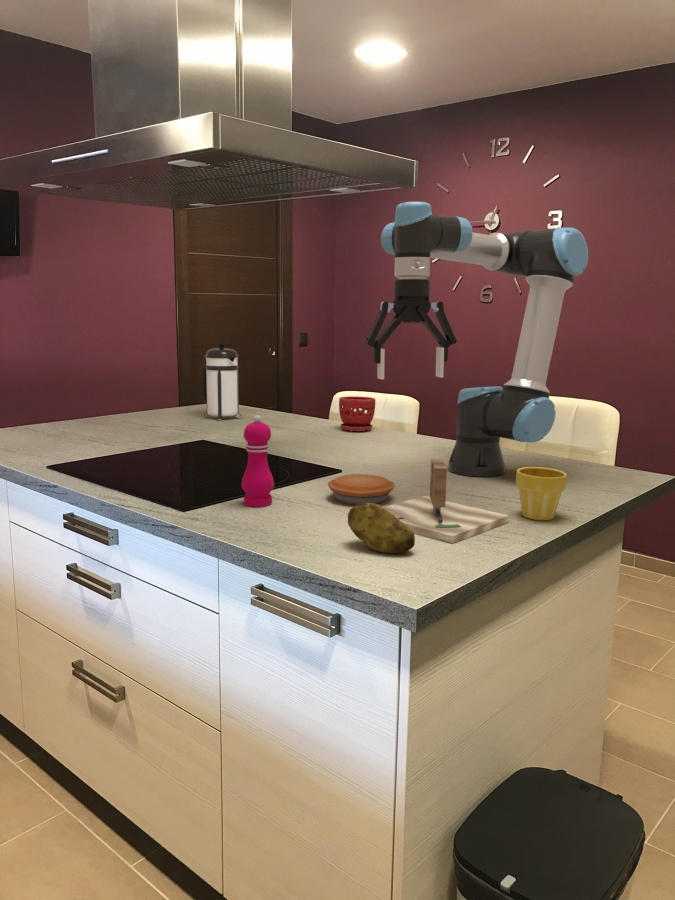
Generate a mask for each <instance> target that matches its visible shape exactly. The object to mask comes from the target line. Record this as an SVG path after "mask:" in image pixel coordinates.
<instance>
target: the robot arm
mask: <svg viewBox="0 0 675 900" xmlns="http://www.w3.org/2000/svg"><path fill="white" fill-rule="evenodd" d="M380 242H381V246H382V248H383V250H384V251H385V252H386V254H388V255H390V256H391V255H392V256H394V277H395V278H397V279H395V281H393V282H394V286H393V288H394V289H393V292H394V293H393V294H394V295H393V298H394V299H393V302H388V301H381V302H380V303H379V308H378V313H377V315H376V317H375V320H374V321H373V324H372V325H371V327H370V329H369V332H368V334H367V336H366V338H365V341H364V344H365V345H366V346H369V347H371V348H372V349H373V351H372V352H373V354H372V359H373V360H372V361H373V363H374V364H375V365H377V368H376V369H377V377H376V378H377V379H379V380H385V355H386V354H385V353H386V350H385V348H382V347H383V345H384V344H385V343H386V342H387V340H388V339H389V338H390V337H391V335H392V334H393V333H394V332H395V330H396V329H397V327H399V326H400V325H401V324H409V323H410V324H411V323H414V324H415V323H417V324H420V323H421V324H422V325H423V326H425V328H426V330H427V331H428V332H429V333H430V334H431V336H432V337H433V338H434V340H435V341H436V343H438V345H439V346H436V347H435V348H436V349H435V350H436V351H435V353H436V354H435V377H437V378H444V369H445V368H444V366H445V364H444V363H445V362H446V363H447V362H448V359H449V357H448V355H449V354H448V353H449V348H450V347H451V346H452V345H455V344H457V343H458V342H457V338H456V336H455V333H454V332H453V329H452V327H451V325H450V322H449V319H448V317H447V315H446V314H445V313H446V312H445V309H444V306H445V305H444V302H443V301H438V300H437V301H435V302H431V301H430V290H431V289H430V285H431V284H430V283H431V282H430V281H429V279H427V278H428V277H429V278H430V274H431V259H437V260H444V261H451V262H458V263H464V264H471V265H472V264H473V265H477V266H479V265H480V266H482V267H484V269H486V270H487V271H491V272H498V273H502V274H503V273H504V274H508V275H513V276H517V277H525V281H526V282H527V284H528V286H529V291H528V296H527V300H526V301H527V302H526V306H525V310H524V311H525V312H524V315H523V319H522V320H523V321H522V325H521V331H520V335H519V339H518V344H517V350H516V353H515V359H514V363H513V369H512V373H511V378H510V380H508V381H507V382H505V383H504V384H503V387H502V386H498V385H495V386H479V387H469V388H468V387H467V388H463V389H461V390H460V391H459V392H458V398H457V403H456V407H457V408H456V433H455V434H456V435H455V436H456V438H455V444H454V448H452V452H451V455H450V457H449V460H448V466H447V470H448V471H449V472H451V473H454V474H457V475H460V476H461V475H462V476H468V477H484V478H485V477H497V476H502V475H503V474H504V473H505V471H506V470H505V469H506V464H505V461H504V456H503V452H502V449H501V444H500V440H501V438H503V439H508V440H511V441H512V440H513V441H516V442H520V443H536V442H537V443H538V442H540V441H541V440H543V439H544V437H546V436H547V435H548V434H549V433H550V431H551V430H552V428H553V426H554V423H555V420H556V409H555V408H556V407H555V403H554V402H553V401H552V400H551V399H550V395H551V391H550V390H549V389H548V387H547V385H546V383H547V379H548V374H549V369H550V366H551V364H550V363H551V360H552V355H553V350H554V345H555V340H556V336H557V332H558V326H559V322H560V316H561V313H562V306H563V302H564V296H565V292H566V291H567V290H568V289H570V288H572V287H573V285H574V279H575V277H577V276H580V275H582V274H584V271H585V270H587V267H588V263H589V248H588V243H587V242H586V238H585V236H584V235H583V233H582V232H581V231H580V230H579V229H576V228H574V227H562V226H559V227H555V228H554V227H553V228H545V229H536V230H535V229H533V230H523V231H518V232H509V233H504V232H503V233H502V232H492V233H490V234H484V233H478V232H473V225H471V222H470V221H469V220H468V219H467V218H465V217H461V216H458V215H453V216H452V215H443V214H442V215H439V214H438V215H437V214H433V211H432V206H431V204H430V203H428V202H425V201H406V202H401V203H399V204H397V206H396V207H395V215H394V222H390V223H388V224H386V225H385V226H384V228H383V229H382V231H381V235H380ZM391 310H392V311H394V313H395V315H394V316H393V318H392V319H391V321H390V322H389V323H388V325H387V326H386V327H385V328H383V329H384V330H383V331H382V332H381V333H380V334H379V332H380V330H381V329H382V326H383V324H384V322H385V320H386V318H387V316H388V313H390V312H391ZM430 310H431V311H432V312H433V313H434V314H435V317H436V318H437V319H436V320H437V321H438V323H439V326H440V328H441V330H442V333H443V334H444V335H443V334H442V333H441V331H440V330H439V329H438V327H437V326H436V324H435V323H434V322H433V321H432V319H431V316H429V315H428V314H429V312H430ZM378 335H379V336H378Z"/></svg>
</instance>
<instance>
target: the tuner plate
mask: <svg viewBox="0 0 675 900" xmlns="http://www.w3.org/2000/svg"><path fill="white" fill-rule="evenodd" d="M383 508H384V509H385V510H387V511H388V512H390V513H391V514H393V515H395V517H396V518H397V519H399V520H400V521H402V522H403V523H404V524H405V525H407V526H408V527H409V528H410V529H411V530H412V531H413V533H414V534H416V535H419V536H423V537H427V538H431V539H433V540H434V539H435V540H437V541H440V542H445V543H449V544H452V545H453V544H455V543H458V542H460V541H464V540H465V539H469V538H471V537H473V536H476V535H479V534H481V533H485V532H487V531H489V530H492V529H494V528H497V527H501V526H502V525H506V524H508V523H509V519H510V518H509V515H508V514H504V513H499V512H495V511H490V510H486V509H482V508H478V507H472V506H469V505H465V504H460V503H457V502H451V501H447V500H446V503H445V507H441V513H440V514H441V517H442V520H443V523H439V521H438V518H437V515H436V514H435V513H433V505H432V501H431V498H430V496H426V495H422V496H418V497H415V498H410V499H408V500H407V499H406V500H405V501H404V500H403V501H401V502H397V503H394V504H391V505H388V506H383Z"/></svg>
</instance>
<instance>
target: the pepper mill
mask: <svg viewBox="0 0 675 900" xmlns="http://www.w3.org/2000/svg"><path fill="white" fill-rule="evenodd" d="M252 420H253V422H250V423H248V424H247V425H246V426H245V428H244V430H243V439H244V440H245V441H246V445H245V446H246V449H245V450H246V452H247V456H248V457H247V465H246V467H245V470H244V473H243V476H242V479H241V489H242V490H243V491H244V492H245V495H244V496H243V504H244V506H247V507H250V506H254V507H253V508H261V507H260V506H264V507H268V506H267V505H269V506H270V504H271V503H273V496H272V494H271V492H273V490H274V488H275V481H274V477H273V475H272V472H271V470H270V467H269V463H268V451H270V448H269V446H270V444H269V443H268V442H269V441H270V440H271V437H272V431H271V428H270V426H269V425H268V424H266V423H264V422H262V417H261V415H259V414H256V415H254V416H253V418H252ZM271 505H272V504H271Z"/></svg>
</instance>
